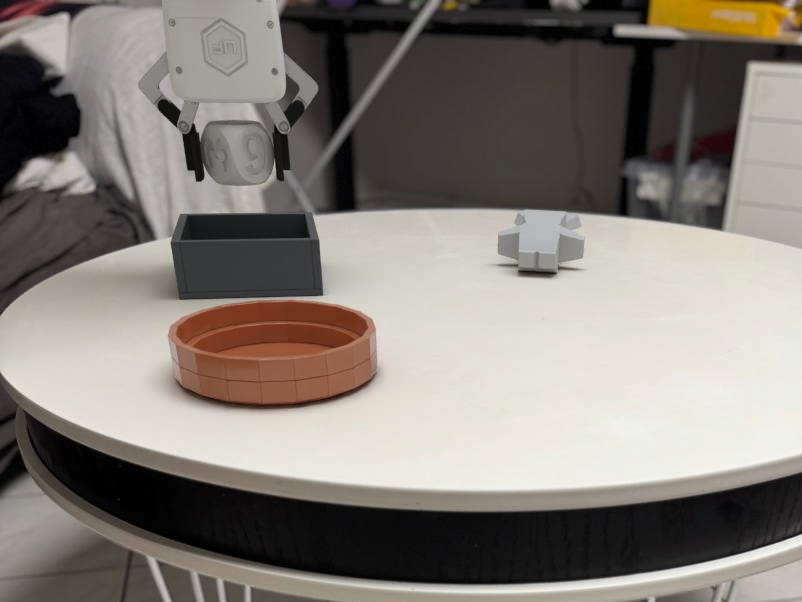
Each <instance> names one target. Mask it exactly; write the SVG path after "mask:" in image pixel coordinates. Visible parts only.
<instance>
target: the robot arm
mask: <svg viewBox="0 0 802 602" xmlns="http://www.w3.org/2000/svg"><path fill="white" fill-rule="evenodd" d="M161 10H162V22H163V23H162V24H163V32H164V42H165V49H166V50H165V52H164V53H163V54H162V55H161V56H160V57H159V58H158V59H157V60H156V61H155V63H154V64H153V65H152V66H151V67H150V68H149V69H148V70H147V72H146V73H144V75H143V76H142V77H141V78H140V79H139V80H138V82H137V86H138V89H139V91H141V93H142V94H143V95H144V96H145V97H146V98H147V99H148V101H150V102H151V103H152V104H153V105H154V106H155V108H156V109H157V110H158V111H159V113H160V114H161V115H162V116H164V117H165V118H166V120H168V121H169V123H171V124H172V125H173V126H174V127H175V128H176V129H177V131H178V132H179V133H181V137H182V143H183V150H184V158H185V164H186V170H187V171H188V172H194V179H195V182H196V183H201V182H203V181H204V180H205V176H206V174H205V173H206V172H205V166H204V164H203V161H202V157H201V150H200V140H201V136H200V132H199V131H198V130H197V128H196V127H197V126H196V123H194V121H195V119H196V115H197V112H198V109H199V106H200V104H201V103H202V104H203V103H204V104H211V103H212V104H263V105H264V107H265V109H266V111H267V112H268V114H269V116H270V118H271V120H272V122H273V123H274V124H273V132H271V135H272V143H273V147H274V156H275V159H274V167H275V177H276V181H278V182H285V174H284V173H285V172H284V171H291V158H290V149H289V148H290V147H289V137H288V136H289V135H288V133H289V132H290V131H291V129H293V127H294V125H295V124H296V123H297V122H298V120H299V119H300V118H301V116H302V115H303V114H304V113H305V111H306V109H307V108H308V107H309V105H310V104H311V102H312V100H313V99H314V98H315V96H316V95H317V93H318V92H319V84H318V83H317V82H316V81H315V80H314V79H313V78H312V77H311V76H310V75H309V74H308V73H307V72H306V71H305V70H303V69H302V68H301V66H299V65H298V63H296V62H295V61H294V60H292V58H291V57H290V56H288V55H287V54H286V53H285V52H284V46H283V38H282V31H281V24H280V17H279V9H278V4H277V0H161ZM167 75H169V80H170V85H171V88H172V91H173V93H174V95H175V96H176V97H177V98H179V99H180V100H184V101H183V103H182V107H181V110H180V108H179V107H178V106H176V105H175V103H174V102H172V101H171V99H169V98H168V97H167V96H166V95H165V94H164V92H163V91H162V89H161V88H160V83H161V82H162V81H163V80H164V79H165V77H166V76H167ZM286 75H287V76H288V77H289V78H290V79H291V80H292V81H293V82H295V83H296V85H298V88H299V90H298V92H297V94H296V96H295V97H294V99H293V100H292V101H291V102H290V104H289V105H288V106H287V107H286V108H285V110H283V108H282V106H281V104H280V102H279V100H281V99H282V98H283V97H284V96H285V95H286V90H287V76H286Z"/></svg>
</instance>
